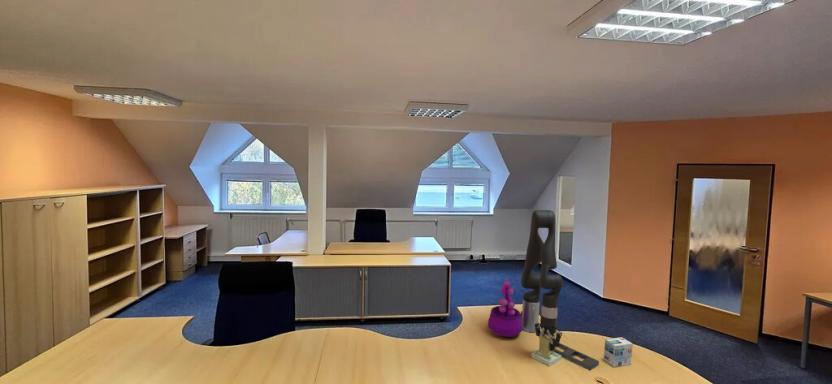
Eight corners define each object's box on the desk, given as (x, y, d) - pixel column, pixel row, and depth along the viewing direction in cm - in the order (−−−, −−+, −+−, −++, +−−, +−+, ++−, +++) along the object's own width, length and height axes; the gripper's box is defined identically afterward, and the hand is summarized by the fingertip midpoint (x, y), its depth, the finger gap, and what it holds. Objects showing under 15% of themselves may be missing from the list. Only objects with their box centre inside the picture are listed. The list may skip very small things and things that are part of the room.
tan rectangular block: (538, 351, 181) (539, 336, 181) (544, 349, 184) (545, 333, 184) (547, 356, 177) (548, 340, 177) (553, 353, 180) (554, 337, 180)
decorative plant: (481, 327, 213) (484, 276, 210) (509, 323, 218) (512, 274, 215) (498, 343, 195) (501, 288, 192) (528, 339, 200) (531, 285, 198)
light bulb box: (613, 367, 175) (615, 345, 174) (602, 360, 181) (604, 339, 180) (631, 364, 178) (633, 343, 177) (620, 357, 184) (622, 336, 183)
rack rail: (544, 348, 191) (545, 344, 191) (553, 344, 196) (553, 340, 196) (590, 370, 172) (590, 366, 172) (598, 365, 177) (599, 361, 177)
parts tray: (531, 356, 182) (531, 352, 182) (543, 350, 188) (543, 347, 188) (549, 366, 174) (549, 362, 174) (561, 359, 180) (561, 355, 180)
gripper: (531, 311, 183) (529, 344, 184) (558, 321, 171) (555, 356, 173) (540, 307, 187) (538, 340, 189) (566, 318, 176) (564, 352, 177)
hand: (546, 347), depth 181 cm, fingers closed on tan rectangular block, 5 cm apart
